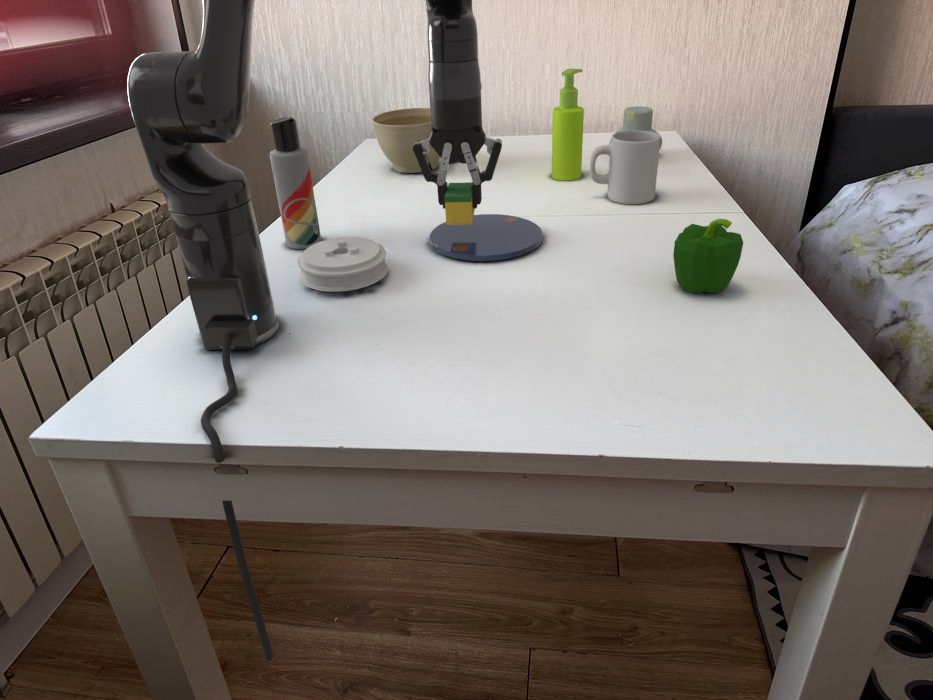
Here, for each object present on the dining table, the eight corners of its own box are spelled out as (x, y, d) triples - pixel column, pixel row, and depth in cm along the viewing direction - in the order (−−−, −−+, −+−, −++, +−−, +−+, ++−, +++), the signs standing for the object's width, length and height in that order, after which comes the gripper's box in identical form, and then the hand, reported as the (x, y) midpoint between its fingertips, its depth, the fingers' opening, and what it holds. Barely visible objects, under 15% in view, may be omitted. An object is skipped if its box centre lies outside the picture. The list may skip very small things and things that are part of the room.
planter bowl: (410, 154, 159) (406, 104, 154) (467, 163, 151) (465, 111, 145) (362, 172, 148) (355, 119, 143) (420, 183, 140) (416, 128, 134)
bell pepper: (656, 281, 96) (664, 212, 91) (704, 269, 99) (714, 201, 94) (696, 306, 90) (707, 233, 85) (747, 292, 92) (760, 221, 87)
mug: (650, 188, 131) (655, 129, 125) (659, 204, 123) (665, 141, 118) (586, 190, 131) (588, 131, 126) (590, 205, 124) (593, 143, 118)
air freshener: (633, 148, 155) (637, 102, 150) (665, 155, 150) (670, 106, 144) (603, 159, 149) (606, 111, 144) (635, 166, 143) (639, 116, 138)
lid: (284, 291, 99) (277, 258, 96) (330, 257, 109) (325, 226, 106) (362, 302, 95) (357, 269, 92) (403, 266, 105) (400, 235, 102)
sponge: (472, 224, 107) (470, 196, 105) (446, 225, 107) (444, 196, 105) (474, 209, 113) (473, 182, 111) (450, 209, 113) (448, 182, 111)
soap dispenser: (587, 172, 141) (592, 67, 131) (573, 182, 136) (577, 73, 126) (561, 169, 144) (564, 66, 134) (546, 178, 139) (548, 72, 129)
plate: (543, 262, 104) (543, 254, 103) (424, 263, 105) (423, 256, 105) (540, 219, 119) (540, 212, 119) (436, 221, 121) (435, 214, 120)
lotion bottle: (313, 250, 112) (292, 122, 101) (280, 249, 113) (256, 122, 102) (326, 237, 116) (307, 113, 106) (294, 236, 117) (273, 113, 107)
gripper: (402, 99, 98) (412, 215, 107) (503, 96, 97) (505, 214, 106) (410, 89, 104) (418, 200, 113) (504, 86, 103) (506, 198, 112)
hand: (460, 206), depth 109 cm, fingers closed on sponge, 4 cm apart
